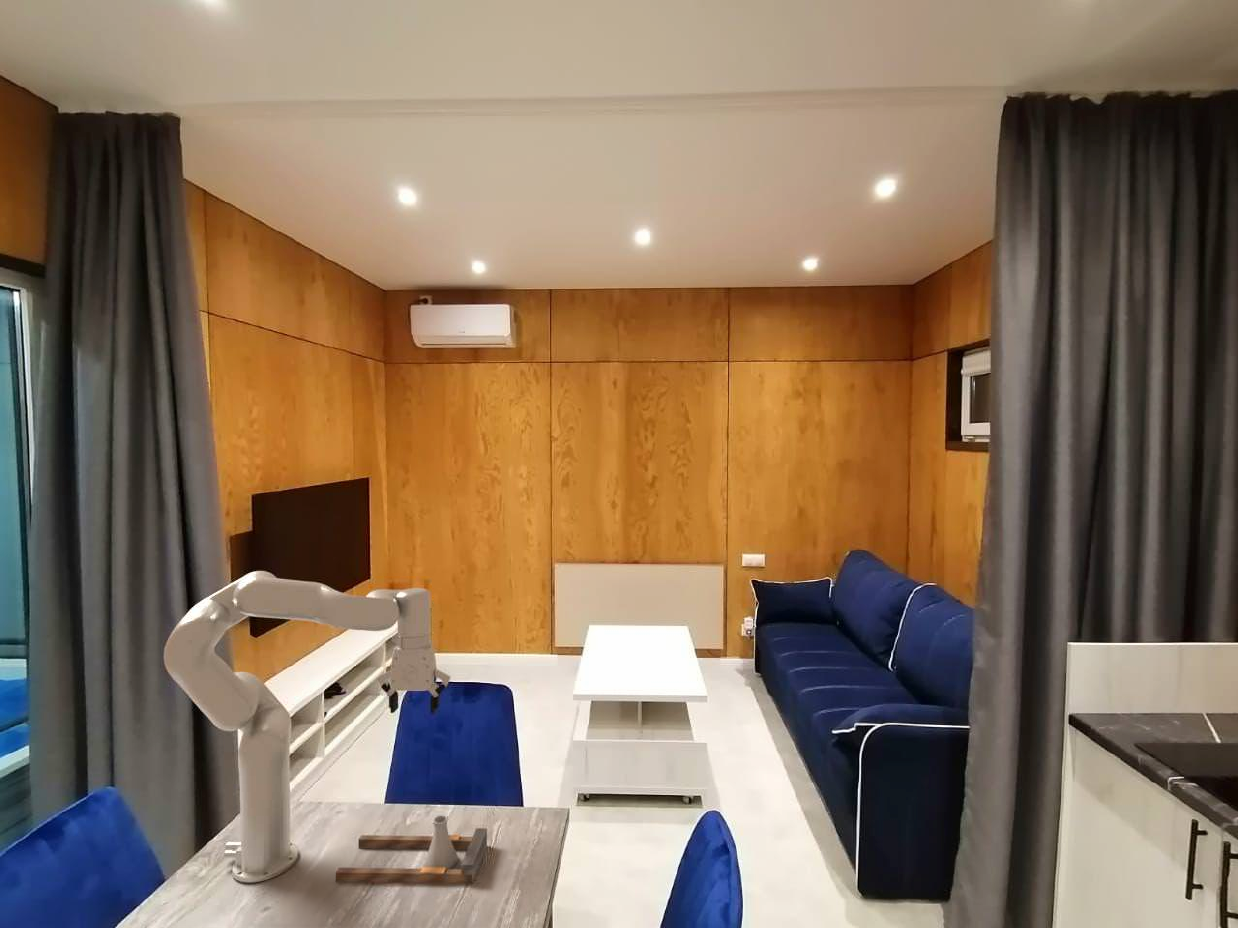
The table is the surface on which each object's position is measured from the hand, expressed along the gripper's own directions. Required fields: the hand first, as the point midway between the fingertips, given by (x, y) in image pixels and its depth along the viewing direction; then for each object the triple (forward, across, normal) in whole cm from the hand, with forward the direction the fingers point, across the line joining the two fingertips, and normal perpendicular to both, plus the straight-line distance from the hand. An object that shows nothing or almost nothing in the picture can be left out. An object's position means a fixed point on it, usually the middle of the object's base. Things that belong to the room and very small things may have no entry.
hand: (414, 710), depth 148 cm
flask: (+29, +10, -13) cm, 33 cm away
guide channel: (+28, +4, -13) cm, 31 cm away
